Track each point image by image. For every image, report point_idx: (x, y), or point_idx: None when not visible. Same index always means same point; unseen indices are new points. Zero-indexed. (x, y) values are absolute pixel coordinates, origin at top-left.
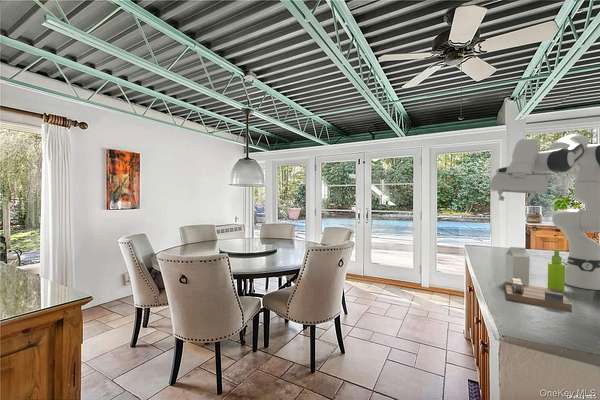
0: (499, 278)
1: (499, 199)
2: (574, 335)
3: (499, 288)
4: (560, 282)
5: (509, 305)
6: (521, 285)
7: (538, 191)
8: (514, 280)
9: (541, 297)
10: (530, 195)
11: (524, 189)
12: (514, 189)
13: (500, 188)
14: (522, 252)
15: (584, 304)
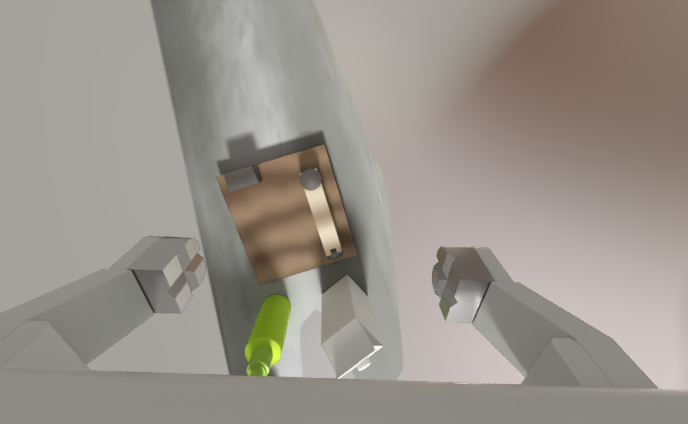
0: (385, 317)
1: (476, 247)
2: (178, 5)
3: (360, 224)
4: (261, 312)
5: (307, 99)
6: (302, 174)
7: None
8: (328, 219)
9: (268, 179)
10: (67, 300)
11: (51, 393)
12: (301, 387)
13: (659, 408)
14: (340, 353)
15: (218, 251)
